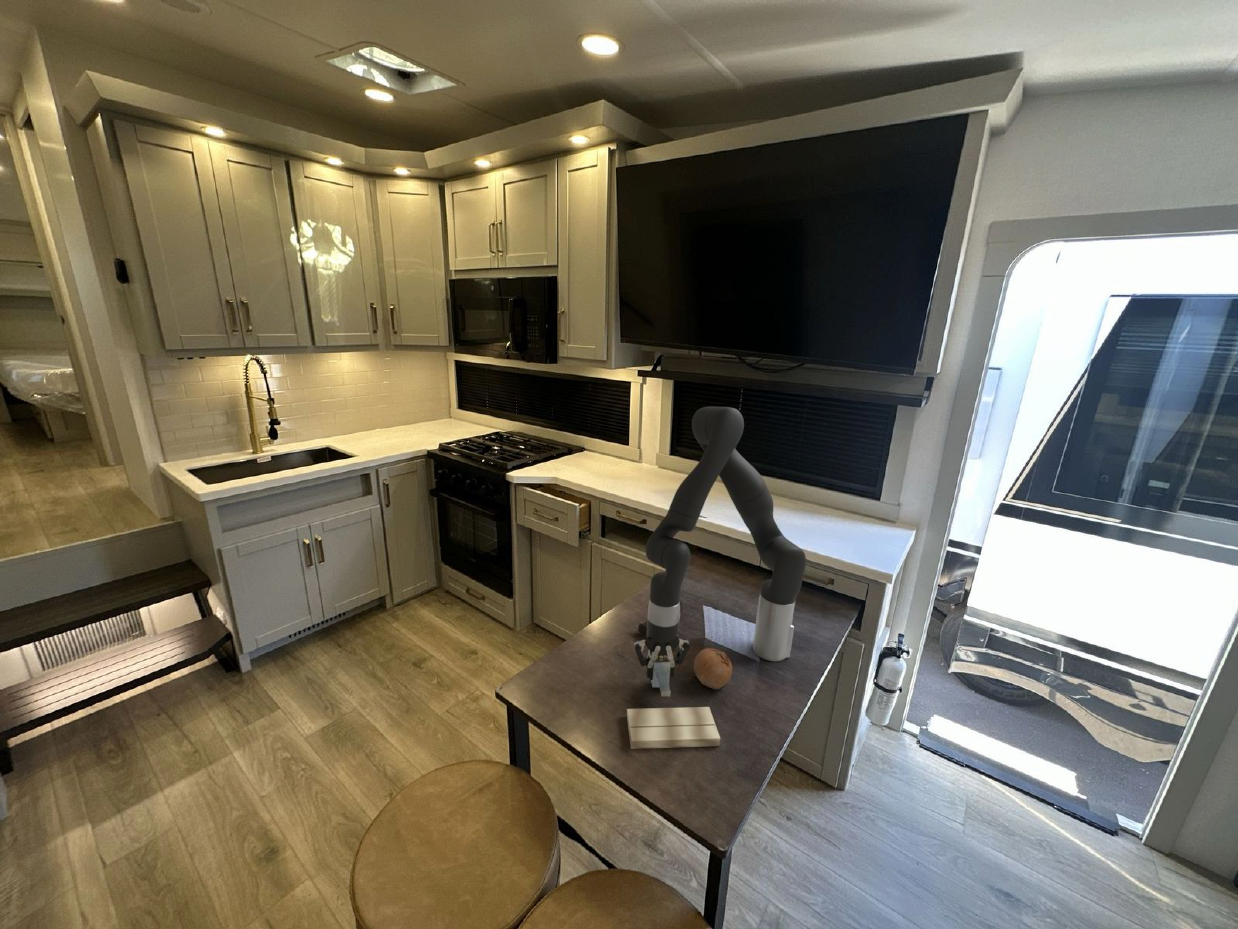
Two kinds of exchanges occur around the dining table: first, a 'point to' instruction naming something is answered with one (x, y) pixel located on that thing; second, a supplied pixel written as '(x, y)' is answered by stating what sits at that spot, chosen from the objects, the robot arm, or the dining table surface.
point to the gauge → (661, 674)
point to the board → (672, 727)
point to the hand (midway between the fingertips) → (659, 677)
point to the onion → (713, 668)
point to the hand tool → (643, 626)
